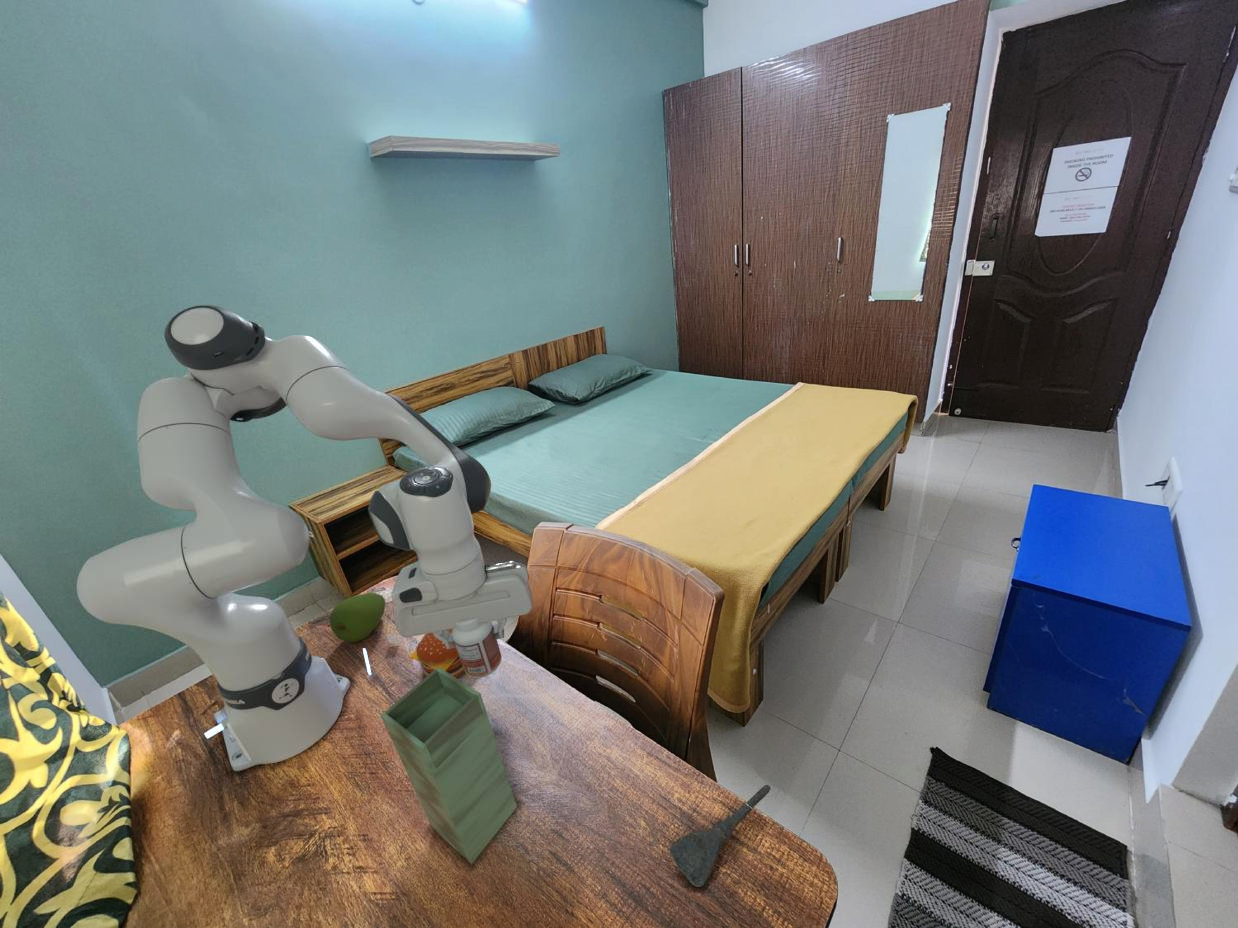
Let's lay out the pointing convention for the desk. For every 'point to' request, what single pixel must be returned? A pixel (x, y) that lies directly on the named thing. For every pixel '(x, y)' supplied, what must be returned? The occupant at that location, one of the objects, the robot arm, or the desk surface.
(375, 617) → the green mango
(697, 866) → the artifact
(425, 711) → the holder
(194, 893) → the desk surface
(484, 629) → the pill bottle
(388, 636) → the figurine
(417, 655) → the hamburger
